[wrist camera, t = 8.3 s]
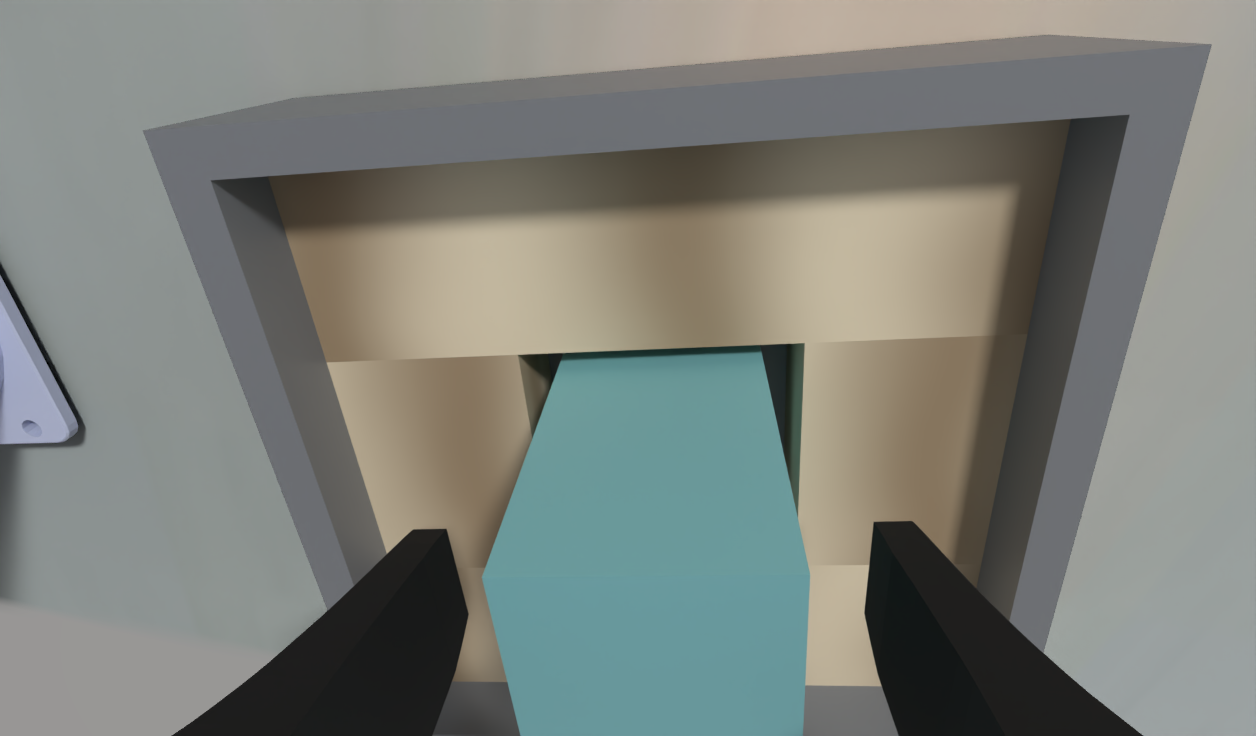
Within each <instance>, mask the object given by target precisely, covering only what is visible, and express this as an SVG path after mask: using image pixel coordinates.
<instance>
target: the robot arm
mask: <svg viewBox="0 0 1256 736" xmlns="http://www.w3.org/2000/svg"><path fill="white" fill-rule="evenodd" d="M77 431H78V424H77V421H76V418H75V416H74V415H73V413H72V411H71V409H70V407H69V405H68V403H67V401H66V399H65V397H64V395H63V394H62V392H61V390H60V388H59V386H58V384H57V382H56V380H55V378H54V376H53V374H52V373H51V371H50V369H49V367H48V365H47V363H46V361H45V359H44V357H43V355H42V353H41V352H40V350H39V348H38V346H37V344H36V342H35V340H34V338H33V336H32V334H31V332H30V331H29V329H28V327H27V325H26V323H25V321H24V319H23V317H22V315H21V313H20V311H19V310H18V308H17V306H16V304H15V302H14V300H13V298H12V296H11V294H10V292H9V290H8V289H7V287H6V285H5V283H4V281H3V279H2V277H1V275H0V444H32V443H60V442H64V441H66V440H68V439H69V438H70V437H72V436H73V435H74V434H76V433H77ZM864 614H865V619H866V624H867V629H868V633H869V638H870V643H871V647H872V652H873V656H874V660H875V665H876V669H877V673H878V677H879V680H880V683H881V686H882V689H883V692H884V695H885V697H886V700H887V703H888V706H889V709H890V712H891V715H892V718H893V721H894V724H895V727H896V730H897V732H898V735H899V736H1143V735H1142V734H1140V733H1139V732H1138V731H1136V730H1135V729H1134V728H1133V727H1131V726H1130V725H1129V724H1127V723H1126V722H1125V721H1124V720H1122V719H1121V718H1120V717H1119V716H1117V715H1116V714H1115V713H1114V712H1112V711H1111V710H1110V709H1108V708H1107V707H1106V706H1105V705H1103V704H1102V703H1101V702H1100V701H1098V700H1097V699H1096V698H1095V697H1093V696H1092V695H1091V694H1090V693H1088V692H1087V691H1086V690H1085V689H1084V688H1082V687H1081V686H1080V685H1079V684H1078V683H1077V682H1075V681H1074V680H1073V679H1072V678H1071V677H1070V676H1068V675H1067V674H1066V673H1065V672H1064V671H1063V670H1062V669H1060V668H1059V667H1058V666H1057V665H1056V664H1055V663H1054V662H1053V661H1052V660H1050V659H1049V658H1048V657H1047V656H1046V655H1045V654H1044V653H1043V652H1042V651H1040V650H1039V649H1038V648H1037V647H1036V646H1035V645H1034V644H1033V643H1032V642H1031V641H1030V640H1029V639H1027V638H1026V637H1025V636H1024V635H1023V634H1022V633H1021V632H1020V631H1019V630H1018V629H1017V628H1016V627H1015V626H1014V625H1013V624H1012V623H1011V622H1010V621H1009V620H1008V619H1007V618H1006V617H1005V616H1004V615H1003V614H1002V613H1001V612H1000V611H999V610H998V609H997V608H995V607H994V606H993V605H992V604H991V603H990V602H989V601H988V600H987V599H986V598H985V597H984V596H983V595H982V594H981V593H980V592H979V591H978V590H977V588H976V587H975V586H974V585H973V584H972V583H971V582H970V581H969V580H968V579H967V578H966V577H965V576H964V575H963V574H962V573H961V572H960V571H959V570H958V569H957V568H956V567H955V565H954V564H953V563H952V562H951V561H950V560H949V559H948V558H947V557H946V556H945V555H944V554H943V553H942V552H941V550H940V549H939V548H938V547H937V546H936V545H935V544H934V543H933V542H932V541H931V540H930V539H929V537H928V536H927V535H926V534H925V533H924V532H923V531H922V530H921V529H920V528H919V527H918V526H917V525H916V524H915V523H914V522H913V521H882V522H874V523H873V533H872V543H871V552H870V562H869V572H868V581H867V591H866V601H865V610H864ZM468 616H469V613H468V609H467V606H466V602H465V598H464V594H463V590H462V586H461V582H460V579H459V575H458V571H457V567H456V563H455V559H454V555H453V551H452V548H451V544H450V540H449V536H448V532H447V529H413V530H412V531H411V532H410V533H409V534H407V535H406V536H405V537H404V538H403V539H402V540H401V541H400V542H399V543H398V544H397V545H396V546H395V547H394V548H393V549H392V550H391V551H389V552H388V553H387V554H386V555H385V556H384V557H383V558H382V559H381V560H380V561H379V562H378V563H377V564H376V565H375V566H374V567H373V568H372V569H371V570H370V571H369V572H368V573H367V574H366V575H365V576H364V577H363V578H362V579H361V580H360V581H359V582H358V583H357V584H355V585H354V586H353V587H352V588H351V589H350V590H349V591H348V592H347V593H346V594H345V595H344V596H343V597H342V598H341V599H340V600H339V601H338V602H336V603H335V604H334V605H333V606H332V607H331V608H330V609H329V610H328V611H327V612H326V613H325V614H324V615H323V616H322V617H320V618H319V619H318V620H317V621H316V622H315V623H314V624H313V625H311V626H310V627H309V628H308V629H307V630H306V631H304V632H303V633H302V634H301V635H300V636H299V637H298V638H296V639H295V640H294V641H293V642H292V643H291V644H290V645H288V646H287V647H286V648H285V649H284V650H283V651H282V652H280V653H279V654H278V655H277V656H276V657H275V658H274V659H272V660H271V661H270V662H269V663H268V664H267V665H265V666H264V667H263V668H262V669H261V670H259V671H258V672H257V673H256V674H255V675H253V676H252V677H251V678H249V679H248V680H247V681H246V682H244V683H243V684H242V685H241V686H239V687H238V688H237V689H235V690H234V691H233V692H231V693H230V694H229V695H227V696H226V697H225V698H224V699H222V700H221V701H220V702H218V703H217V704H216V705H214V706H213V707H212V708H210V709H209V710H208V711H206V712H205V713H204V714H202V715H201V716H199V717H198V718H197V719H195V720H194V721H193V722H191V723H190V724H188V725H187V726H185V727H184V728H183V729H181V730H179V731H178V732H177V733H175V734H174V735H172V736H432V735H433V732H434V730H435V727H436V724H437V722H438V719H439V716H440V713H441V711H442V708H443V705H444V702H445V700H446V697H447V694H448V691H449V689H450V686H451V683H452V680H453V677H454V674H455V672H456V668H457V664H458V660H459V656H460V651H461V647H462V643H463V639H464V634H465V629H466V625H467V620H468Z"/></svg>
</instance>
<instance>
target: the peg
mask: <svg viewBox="0 0 1256 736" xmlns="http://www.w3.org/2000/svg"><path fill="white" fill-rule="evenodd" d="M482 581H483V585H484V589H485V593H486V597H487V601H488V605H489V609H490V613H491V617H492V621H493V626H494V630H495V634H496V638H497V642H498V646H499V650H500V654H501V658H502V662H503V666H504V671H505V675H506V679H507V683H508V687H509V691H510V695H511V699H512V703H513V707H514V711H515V716H516V720H517V724H518V728H519V732H520V736H803V723H804V701H805V679H806V657H807V635H808V613H809V591H810V571H809V567H808V562H807V558H806V553H805V548H804V544H803V539H802V535H801V530H800V526H799V521H798V516H797V512H796V507H795V503H794V498H793V494H792V489H791V485H790V480H789V475H788V471H787V466H786V462H785V457H784V453H783V448H782V444H781V439H780V434H779V430H778V425H777V421H776V416H775V412H774V407H773V402H772V398H771V393H770V389H769V384H768V380H767V375H766V371H765V366H764V361H763V357H762V352H761V348H760V345H746V346H721V347H696V348H672V349H647V350H622V351H598V352H573V353H563V356H562V359H561V361H560V364H559V367H558V370H557V372H556V375H555V378H554V381H553V383H552V386H551V389H550V392H549V394H548V397H547V400H546V403H545V405H544V408H543V411H542V414H541V416H540V419H539V422H538V425H537V427H536V430H535V433H534V436H533V438H532V441H531V444H530V447H529V449H528V452H527V455H526V458H525V460H524V463H523V466H522V469H521V471H520V474H519V477H518V480H517V482H516V485H515V488H514V490H513V493H512V496H511V499H510V501H509V504H508V507H507V510H506V512H505V515H504V518H503V521H502V523H501V526H500V529H499V532H498V534H497V537H496V540H495V543H494V545H493V548H492V551H491V554H490V556H489V559H488V562H487V565H486V567H485V570H484V573H483V576H482Z"/></svg>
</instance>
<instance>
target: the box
mask: <svg viewBox="0 0 1256 736" xmlns="http://www.w3.org/2000/svg"><path fill="white" fill-rule="evenodd" d="M1211 45H1212V44H1197V43H1180V42H1163V41H1145V40H1128V39H1111V38H1094V37H1077V36H1060V35H1040V36H1028V37H1016V38H1005V39H993V40H981V41H969V42H957V43H945V44H933V45H921V46H909V47H897V48H886V49H874V50H862V51H850V52H838V53H826V54H814V55H802V56H790V57H778V58H767V59H755V60H743V61H731V62H719V63H707V64H695V65H683V66H671V67H659V68H647V69H636V70H624V71H612V72H600V73H588V74H576V75H564V76H552V77H540V78H528V79H517V80H505V81H493V82H481V83H469V84H457V85H445V86H433V87H421V88H409V89H398V90H386V91H374V92H362V93H350V94H338V95H326V96H314V97H302V98H292V99H288V100H283V101H278V102H274V103H269V104H264V105H260V106H255V107H250V108H246V109H241V110H237V111H232V112H227V113H223V114H218V115H213V116H209V117H204V118H199V119H195V120H190V121H185V122H181V123H176V124H171V125H167V126H162V127H157V128H153V129H148V130H144V131H143V132H144V135H145V138H146V140H147V143H148V145H149V148H150V151H151V153H152V156H153V158H154V161H155V163H156V166H157V169H158V171H159V174H160V176H161V179H162V182H163V184H164V187H165V189H166V192H167V195H168V197H169V200H170V202H171V205H172V208H173V210H174V213H175V215H176V218H177V221H178V223H179V226H180V228H181V231H182V234H183V236H184V239H185V241H186V244H187V246H188V249H189V252H190V254H191V257H192V259H193V262H194V265H195V267H196V270H197V272H198V275H199V278H200V280H201V283H202V285H203V288H204V291H205V293H206V296H207V298H208V301H209V304H210V306H211V309H212V311H213V314H214V316H215V319H216V322H217V324H218V327H219V329H220V332H221V335H222V337H223V340H224V342H225V345H226V348H227V350H228V353H229V355H230V358H231V361H232V363H233V366H234V368H235V371H236V374H237V376H238V379H239V381H240V384H241V386H242V389H243V392H244V394H245V397H246V399H247V402H248V405H249V407H250V410H251V412H252V415H253V418H254V420H255V423H256V425H257V428H258V431H259V433H260V436H261V438H262V441H263V444H264V446H265V449H266V451H267V454H268V457H269V459H270V462H271V464H272V467H273V469H274V472H275V475H276V477H277V480H278V482H279V485H280V488H281V490H282V493H283V495H284V498H285V501H286V503H287V506H288V508H289V511H290V514H291V516H292V519H293V521H294V524H295V527H296V529H297V532H298V534H299V537H300V539H301V542H302V545H303V547H304V550H305V552H306V555H307V558H308V560H309V563H310V565H311V568H312V571H313V573H314V576H315V578H316V581H317V584H318V586H319V589H320V591H321V594H322V597H323V599H324V602H325V604H326V607H327V610H329V609H330V608H331V607H332V606H333V605H334V604H335V603H336V602H338V601H339V600H340V599H341V598H342V597H343V596H344V595H345V594H346V593H347V592H348V591H349V590H350V589H351V588H352V587H353V586H354V585H355V584H357V583H358V582H359V581H360V580H361V579H362V578H363V577H364V576H365V575H366V574H367V573H368V572H369V571H370V570H371V569H372V568H373V567H374V566H375V565H376V564H377V563H378V562H379V561H380V560H381V559H382V558H383V557H384V556H385V555H386V554H387V552H386V549H385V546H384V543H383V540H382V537H381V533H380V530H379V527H378V524H377V521H376V518H375V514H374V511H373V508H372V505H371V502H370V499H369V495H368V492H367V489H366V486H365V483H364V480H363V476H362V473H361V470H360V467H359V464H358V461H357V457H356V454H355V451H354V448H353V445H352V442H351V438H350V435H349V432H348V429H347V426H346V423H345V419H344V416H343V413H342V410H341V407H340V404H339V400H338V397H337V394H336V391H335V388H334V385H333V381H332V378H331V375H330V372H329V369H328V365H327V362H326V359H325V356H324V353H323V350H322V346H321V343H320V340H319V337H318V334H317V331H316V327H315V324H314V321H313V318H312V315H311V312H310V308H309V305H308V302H307V299H306V296H305V293H304V289H303V286H302V283H301V280H300V277H299V274H298V270H297V267H296V264H295V261H294V258H293V255H292V251H291V248H290V245H289V242H288V239H287V236H286V232H285V229H284V226H283V223H282V220H281V217H280V213H279V210H278V207H277V204H276V201H275V198H274V194H273V191H272V188H271V185H270V182H269V179H268V176H279V175H293V174H307V173H321V172H335V171H349V170H363V169H377V168H391V167H405V166H419V165H433V164H447V163H461V162H474V161H488V160H502V159H516V158H530V157H544V156H558V155H572V154H586V153H600V152H614V151H628V150H642V149H656V148H670V147H684V146H698V145H712V144H726V143H740V142H754V141H768V140H782V139H796V138H810V137H824V136H838V135H852V134H866V133H880V132H894V131H908V130H922V129H936V128H950V127H964V126H978V125H992V124H1006V123H1020V122H1034V121H1048V120H1062V119H1071V121H1070V125H1069V130H1068V135H1067V140H1066V145H1065V150H1064V155H1063V160H1062V165H1061V170H1060V175H1059V180H1058V185H1057V190H1056V195H1055V200H1054V205H1053V210H1052V215H1051V220H1050V225H1049V230H1048V235H1047V240H1046V245H1045V250H1044V255H1043V260H1042V265H1041V270H1040V275H1039V280H1038V285H1037V290H1036V295H1035V300H1034V305H1033V310H1032V314H1031V319H1030V324H1029V329H1028V334H1027V339H1026V344H1025V349H1024V354H1023V359H1022V364H1021V369H1020V374H1019V379H1018V384H1017V389H1016V394H1015V399H1014V404H1013V409H1012V414H1011V419H1010V424H1009V429H1008V434H1007V439H1006V444H1005V449H1004V454H1003V459H1002V464H1001V469H1000V474H999V479H998V484H997V489H996V494H995V499H994V503H993V508H992V513H991V518H990V523H989V528H988V533H987V538H986V543H985V548H984V553H983V558H982V563H981V568H980V573H979V578H978V583H977V590H978V591H979V592H980V593H981V594H982V595H983V596H984V597H985V598H986V599H987V600H988V601H989V602H990V603H991V604H992V605H993V606H994V607H995V608H997V609H998V610H999V611H1000V612H1001V613H1002V614H1003V615H1004V616H1005V617H1006V618H1007V619H1008V620H1009V621H1010V622H1011V623H1012V624H1013V625H1014V626H1015V627H1016V628H1017V629H1018V630H1019V631H1020V632H1021V633H1022V634H1023V635H1024V636H1025V637H1026V638H1027V639H1029V640H1030V641H1031V642H1032V643H1033V644H1034V645H1035V646H1036V647H1037V648H1038V649H1039V650H1040V651H1042V652H1044V649H1045V645H1046V641H1047V638H1048V634H1049V631H1050V627H1051V623H1052V620H1053V616H1054V612H1055V609H1056V605H1057V602H1058V598H1059V594H1060V591H1061V587H1062V584H1063V580H1064V576H1065V573H1066V569H1067V565H1068V562H1069V558H1070V555H1071V551H1072V547H1073V544H1074V540H1075V537H1076V533H1077V529H1078V526H1079V522H1080V518H1081V515H1082V511H1083V508H1084V504H1085V500H1086V497H1087V493H1088V490H1089V486H1090V482H1091V479H1092V475H1093V472H1094V468H1095V464H1096V461H1097V457H1098V453H1099V450H1100V446H1101V443H1102V439H1103V435H1104V432H1105V428H1106V425H1107V421H1108V417H1109V414H1110V410H1111V406H1112V403H1113V399H1114V396H1115V392H1116V388H1117V385H1118V381H1119V378H1120V374H1121V370H1122V367H1123V363H1124V359H1125V356H1126V352H1127V349H1128V345H1129V341H1130V338H1131V334H1132V331H1133V327H1134V323H1135V320H1136V316H1137V313H1138V309H1139V305H1140V302H1141V298H1142V294H1143V291H1144V287H1145V284H1146V280H1147V276H1148V273H1149V269H1150V266H1151V262H1152V258H1153V255H1154V251H1155V247H1156V244H1157V240H1158V237H1159V233H1160V229H1161V226H1162V222H1163V219H1164V215H1165V211H1166V208H1167V204H1168V200H1169V197H1170V193H1171V190H1172V186H1173V182H1174V179H1175V175H1176V172H1177V168H1178V164H1179V161H1180V157H1181V154H1182V150H1183V146H1184V143H1185V139H1186V135H1187V132H1188V128H1189V125H1190V121H1191V117H1192V114H1193V110H1194V107H1195V103H1196V99H1197V96H1198V92H1199V88H1200V85H1201V81H1202V78H1203V74H1204V70H1205V67H1206V63H1207V60H1208V56H1209V52H1210V49H1211ZM760 348H761V352H762V357H763V361H764V366H765V371H766V375H767V380H768V384H769V389H770V393H771V398H772V402H773V407H774V412H775V416H776V421H777V425H778V430H779V434H780V439H781V444H782V448H783V453H784V434H785V395H786V357H787V344H770V345H760ZM562 356H563V353H548V358H549V365H550V371H551V378H552V383H553V381H554V378H555V375H556V372H557V370H558V367H559V364H560V361H561V359H562ZM432 736H520V732H519V728H518V724H517V720H516V716H515V711H514V707H513V703H512V699H511V695H510V691H509V687H508V683H507V682H455V681H452V683H451V686H450V689H449V691H448V694H447V697H446V700H445V702H444V705H443V708H442V711H441V713H440V716H439V719H438V722H437V724H436V727H435V730H434V732H433V735H432ZM803 736H899V735H898V732H897V730H896V727H895V724H894V721H893V718H892V715H891V712H890V709H889V706H888V703H887V700H886V697H885V695H884V692H883V689H882V686H812V685H805V701H804V723H803Z"/></svg>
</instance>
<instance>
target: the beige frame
mask: <svg viewBox="0 0 1256 736" xmlns="http://www.w3.org/2000/svg"><path fill="white" fill-rule="evenodd" d="M1070 121H1071V119H1062V120H1048V121H1034V122H1020V123H1006V124H992V125H978V126H964V127H950V128H936V129H922V130H908V131H894V132H880V133H866V134H852V135H838V136H824V137H810V138H796V139H782V140H768V141H754V142H740V143H726V144H712V145H698V146H684V147H670V148H656V149H642V150H628V151H614V152H600V153H586V154H572V155H558V156H544V157H530V158H516V159H502V160H488V161H474V162H461V163H447V164H433V165H419V166H405V167H391V168H377V169H363V170H349V171H335V172H321V173H307V174H293V175H279V176H268V179H269V182H270V185H271V188H272V191H273V194H274V198H275V201H276V204H277V207H278V210H279V213H280V217H281V220H282V223H283V226H284V229H285V232H286V236H287V239H288V242H289V245H290V248H291V251H292V255H293V258H294V261H295V264H296V267H297V270H298V274H299V277H300V280H301V283H302V286H303V289H304V293H305V296H306V299H307V302H308V305H309V308H310V312H311V315H312V318H313V321H314V324H315V327H316V331H317V334H318V337H319V340H320V343H321V346H322V350H323V353H324V356H325V359H326V362H327V365H328V369H329V372H330V375H331V378H332V381H333V385H334V388H335V391H336V394H337V397H338V400H339V404H340V407H341V410H342V413H343V416H344V419H345V423H346V426H347V429H348V432H349V435H350V438H351V442H352V445H353V448H354V451H355V454H356V457H357V461H358V464H359V467H360V470H361V473H362V476H363V480H364V483H365V486H366V489H367V492H368V495H369V499H370V502H371V505H372V508H373V511H374V514H375V518H376V521H377V524H378V527H379V530H380V533H381V537H382V540H383V543H384V546H385V549H386V552H387V553H388V552H389V551H391V550H392V549H393V548H394V547H395V546H396V545H397V544H398V543H399V542H400V541H401V540H402V539H403V538H404V537H405V536H406V535H407V534H409V533H410V532H411V531H412V530H413V529H447V532H448V536H449V540H450V544H451V548H452V551H453V555H454V559H455V563H456V567H457V571H458V575H459V579H460V582H461V586H462V590H463V594H464V598H465V602H466V606H467V609H468V613H469V616H468V620H467V625H466V629H465V634H464V639H463V643H462V647H461V651H460V656H459V660H458V664H457V668H456V672H455V674H454V677H453V680H452V681H455V682H507V679H506V675H505V671H504V666H503V662H502V658H501V654H500V650H499V646H498V642H497V638H496V634H495V630H494V626H493V621H492V617H491V613H490V609H489V605H488V601H487V597H486V593H485V589H484V585H483V581H482V576H483V573H484V570H485V567H486V565H487V562H488V559H489V556H490V554H491V551H492V548H493V545H494V543H495V540H496V537H497V534H498V532H499V529H500V526H501V523H502V521H503V518H504V515H505V512H506V510H507V507H508V504H509V501H510V499H511V496H512V493H513V490H514V488H515V485H516V482H517V480H518V477H519V474H520V471H521V469H522V466H523V463H524V460H525V458H526V455H527V452H528V449H529V447H530V444H531V441H532V438H533V436H534V433H535V430H536V427H537V425H538V422H539V419H540V416H541V414H542V411H543V408H544V405H545V403H546V400H547V397H548V394H549V392H550V389H551V386H552V378H551V371H550V365H549V358H548V353H573V352H598V351H622V350H647V349H672V348H696V347H721V346H746V345H770V344H787V357H786V395H785V434H784V457H785V462H786V466H787V471H788V475H789V480H790V485H791V489H792V494H793V498H794V503H795V507H796V512H797V516H798V521H799V526H800V530H801V535H802V539H803V544H804V548H805V553H806V558H807V562H808V567H809V571H810V591H809V613H808V635H807V657H806V679H805V685H812V686H881V683H880V680H879V677H878V673H877V669H876V665H875V660H874V656H873V652H872V647H871V643H870V638H869V633H868V629H867V624H866V619H865V614H864V610H865V601H866V591H867V581H868V572H869V562H870V552H871V543H872V533H873V523H874V522H882V521H913V522H914V523H915V524H916V525H917V526H918V527H919V528H920V529H921V530H922V531H923V532H924V533H925V534H926V535H927V536H928V537H929V539H930V540H931V541H932V542H933V543H934V544H935V545H936V546H937V547H938V548H939V549H940V550H941V552H942V553H943V554H944V555H945V556H946V557H947V558H948V559H949V560H950V561H951V562H952V563H953V564H954V565H955V567H956V568H957V569H958V570H959V571H960V572H961V573H962V574H963V575H964V576H965V577H966V578H967V579H968V580H969V581H970V582H971V583H972V584H973V585H974V586H975V587H976V588H977V583H978V578H979V573H980V568H981V563H982V558H983V553H984V548H985V543H986V538H987V533H988V528H989V523H990V518H991V513H992V508H993V503H994V499H995V494H996V489H997V484H998V479H999V474H1000V469H1001V464H1002V459H1003V454H1004V449H1005V444H1006V439H1007V434H1008V429H1009V424H1010V419H1011V414H1012V409H1013V404H1014V399H1015V394H1016V389H1017V384H1018V379H1019V374H1020V369H1021V364H1022V359H1023V354H1024V349H1025V344H1026V339H1027V334H1028V329H1029V324H1030V319H1031V314H1032V310H1033V305H1034V300H1035V295H1036V290H1037V285H1038V280H1039V275H1040V270H1041V265H1042V260H1043V255H1044V250H1045V245H1046V240H1047V235H1048V230H1049V225H1050V220H1051V215H1052V210H1053V205H1054V200H1055V195H1056V190H1057V185H1058V180H1059V175H1060V170H1061V165H1062V160H1063V155H1064V150H1065V145H1066V140H1067V135H1068V130H1069V125H1070Z"/></svg>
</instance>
